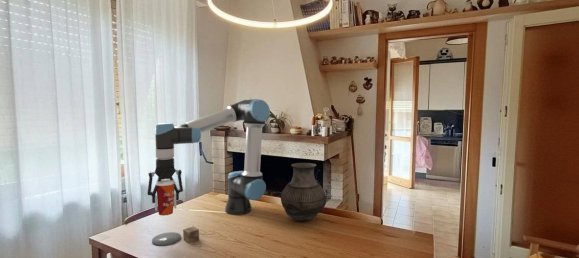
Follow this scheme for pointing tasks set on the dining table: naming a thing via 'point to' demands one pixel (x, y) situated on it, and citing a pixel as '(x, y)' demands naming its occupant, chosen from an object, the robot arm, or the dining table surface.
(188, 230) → the walnut cube
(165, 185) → the coffee cup
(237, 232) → the dining table surface
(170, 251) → the dining table surface
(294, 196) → the vase
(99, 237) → the dining table surface
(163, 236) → the slate coaster
